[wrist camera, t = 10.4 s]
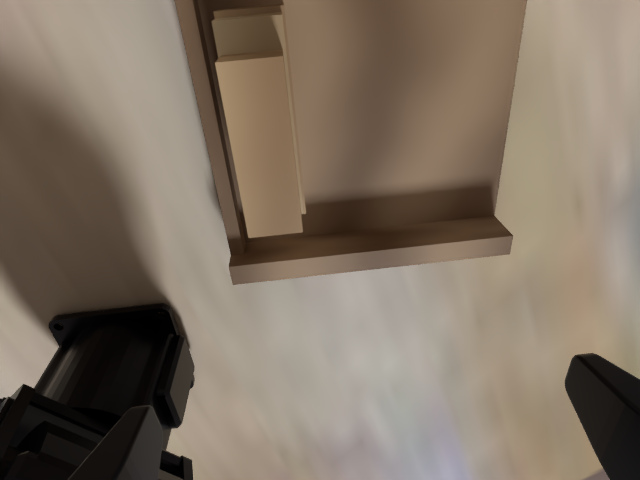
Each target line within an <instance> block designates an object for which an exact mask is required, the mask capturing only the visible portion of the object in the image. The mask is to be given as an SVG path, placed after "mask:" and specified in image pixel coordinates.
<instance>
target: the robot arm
mask: <svg viewBox="0 0 640 480" xmlns="http://www.w3.org/2000/svg"><path fill="white" fill-rule="evenodd" d="M159 312H163V313H164V314H160V313H159ZM59 324H61V325H59ZM62 325H63V326H62ZM49 328H50V330H51V332H52V334H53V336H54V338H55V339H56V341H57V343H58V345H59V348H58V350H57V352H56V353H55V355H54V356H53V358H52V360H51V361H50V363H49V365H48V366H47V368H46V370H45V371H44V373H43V374H42V376H41V378H40V379H39V381H38V383H37V384H36V386H35V387H34V388H32V387H29V386H27V385H25V384H23V385H22V386H21V387H20V388H19V389H18V390H17V391H16V392H15V393H14V394H13V395H12V396H11V397H7V398H5V397H4V398H3V399H0V480H193V470H192V460H191V459H188V458H186V457H184V456H181V457H179V456H177V455H175V454H172V453H170V452H168V451H166V449H167V445H168V440H169V436H170V432H171V429H172V428H178V427H179V426H180V425H181V424H182V421H183V417H184V412H185V408H186V404H187V399H188V395H189V390H190V389H191V388H192V387H193V385H194V375H193V372H194V363H193V360H192V357H191V354H190V351H189V348H188V345H187V342H186V339H185V337H183V336H182V335H180V333H179V330H178V327H177V324H176V321H175V318H174V315H173V312H172V310H171V308H170V307H169V306H168V305H165V304H154V305H145V306H136V307H127V308H118V309H109V310H100V311H91V312H82V313H73V314H64V315H57V316H55V317H53V318H52V320H51V321H50V323H49ZM565 388H566V391H567V394H568V396H569V398H570V400H571V402H572V404H573V407H574V409H575V411H576V413H577V415H578V417H579V419H580V422H581V424H582V426H583V428H584V430H585V432H586V434H587V436H588V439H589V441H590V443H591V445H592V447H593V449H594V451H595V453H596V455H597V457H598V459H599V461H600V463H601V465H602V467H603V468H604V470H605V472H606V474H607V475H608V477H609V479H610V480H640V379H638V378H636V377H635V376H633V375H631V374H629V373H628V372H626V371H624V370H623V369H621V368H619V367H618V366H616V365H614V364H613V363H611V362H609V361H607V360H606V359H604V358H602V357H601V356H599V355H597V354H593V353H588V354H579V355H575V356H574V357H573V358H572V360H571V363H570V366H569V369H568V372H567V375H566V378H565Z"/></svg>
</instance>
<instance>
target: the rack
mask: <svg viewBox="0 0 640 480" xmlns="http://www.w3.org/2000/svg"><path fill="white" fill-rule="evenodd" d="M175 4H176V8H177V13H178V17H179V22H180V26H181V31H182V35H183V40H184V44H185V49H186V54H187V58H188V63H189V67H190V72H191V76H192V81H193V85H194V90H195V94H196V99H197V103H198V108H199V112H200V117H201V121H202V126H203V130H204V135H205V139H206V144H207V148H208V153H209V157H210V162H211V167H212V171H213V176H214V180H215V185H216V189H217V194H218V198H219V203H220V207H221V212H222V216H223V221H224V225H225V230H226V234H227V239H228V243H229V248H230V252H231V258H230V263H229V270H230V274H231V279H232V283H233V285H236V284H245V283H254V282H263V281H272V280H281V279H290V278H299V277H308V276H317V275H326V274H335V273H344V272H353V271H362V270H371V269H380V268H389V267H398V266H408V265H417V264H426V263H435V262H444V261H453V260H462V259H471V258H480V257H489V256H498V255H507V254H510V250H511V245H512V239H513V235H512V234H511V233H510V232H509V231H508V230H507V229H506V228H505V227H504V226H503V225H502V224H501V222H500V221H499V220H498V219H497V218H496V217H495V216H494V214H495V207H496V201H497V194H498V188H499V181H500V175H501V168H502V162H503V155H504V148H505V142H506V135H507V129H508V122H509V116H510V109H511V102H512V96H513V89H514V83H515V76H516V70H517V63H518V56H519V50H520V43H521V37H522V30H523V24H524V17H525V10H526V4H527V0H175ZM275 4H284V9H285V18H286V28H287V37H288V47H289V56H290V66H291V75H292V84H293V94H294V103H295V113H296V122H297V132H298V141H299V151H300V160H301V169H302V179H303V188H304V198H305V207H306V214H301V216H302V227H303V232H302V233H292V234H283V235H274V236H264V237H255V238H248V233H247V228H246V222H245V217H244V212H243V207H242V201H241V196H240V191H239V186H238V181H237V175H236V170H235V165H234V160H233V154H232V149H231V144H230V139H229V134H228V128H227V123H226V118H225V113H224V107H223V102H222V97H221V92H220V86H219V81H218V76H217V71H216V66H215V62H216V61H217V60H218V53H217V48H216V43H215V37H214V32H213V27H212V21H213V20H215V18H214V11H217V10H220V9H231V8H242V7H253V6H264V5H275Z"/></svg>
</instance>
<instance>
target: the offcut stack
mask: <svg viewBox="0 0 640 480" xmlns="http://www.w3.org/2000/svg"><path fill="white" fill-rule="evenodd" d="M214 18H215V20H213V21H212V27H213V32H214V37H215V43H216V48H217V53H218V60H217V61H216V62H215V66H216V71H217V76H218V81H219V86H220V92H221V97H222V102H223V107H224V113H225V118H226V123H227V128H228V134H229V139H230V144H231V149H232V154H233V160H234V165H235V170H236V175H237V181H238V186H239V191H240V196H241V201H242V207H243V212H244V217H245V222H246V228H247V233H248V238H255V237H264V236H274V235H283V234H292V233H302V232H303V227H302V216H301V214H306V207H305V198H304V188H303V179H302V169H301V160H300V151H299V141H298V132H297V122H296V113H295V103H294V94H293V84H292V75H291V66H290V56H289V47H288V37H287V28H286V18H285V9H284V4H275V5H264V6H253V7H242V8H231V9H220V10H217V11H214Z"/></svg>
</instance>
